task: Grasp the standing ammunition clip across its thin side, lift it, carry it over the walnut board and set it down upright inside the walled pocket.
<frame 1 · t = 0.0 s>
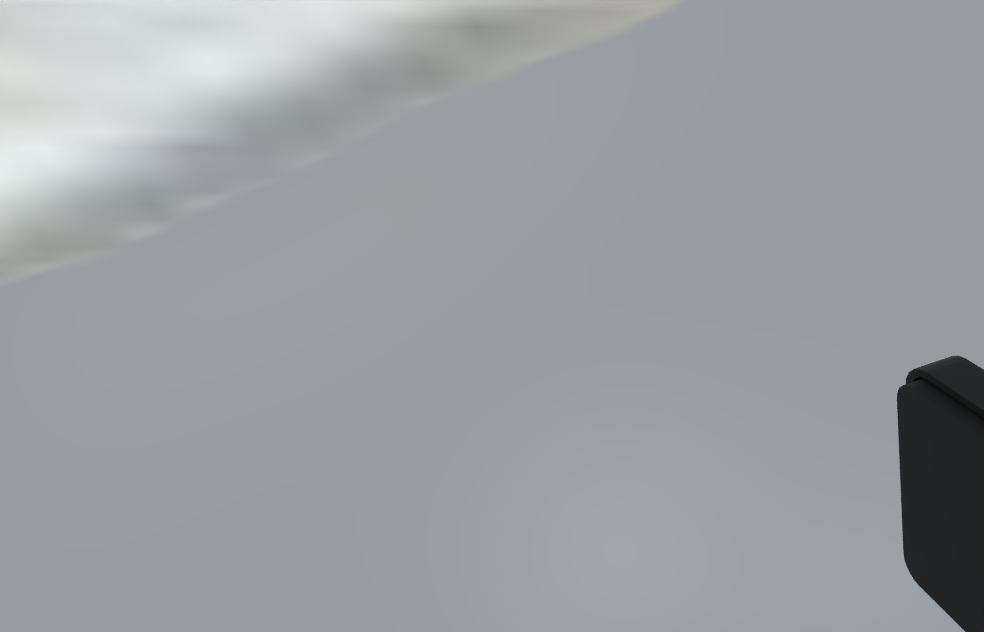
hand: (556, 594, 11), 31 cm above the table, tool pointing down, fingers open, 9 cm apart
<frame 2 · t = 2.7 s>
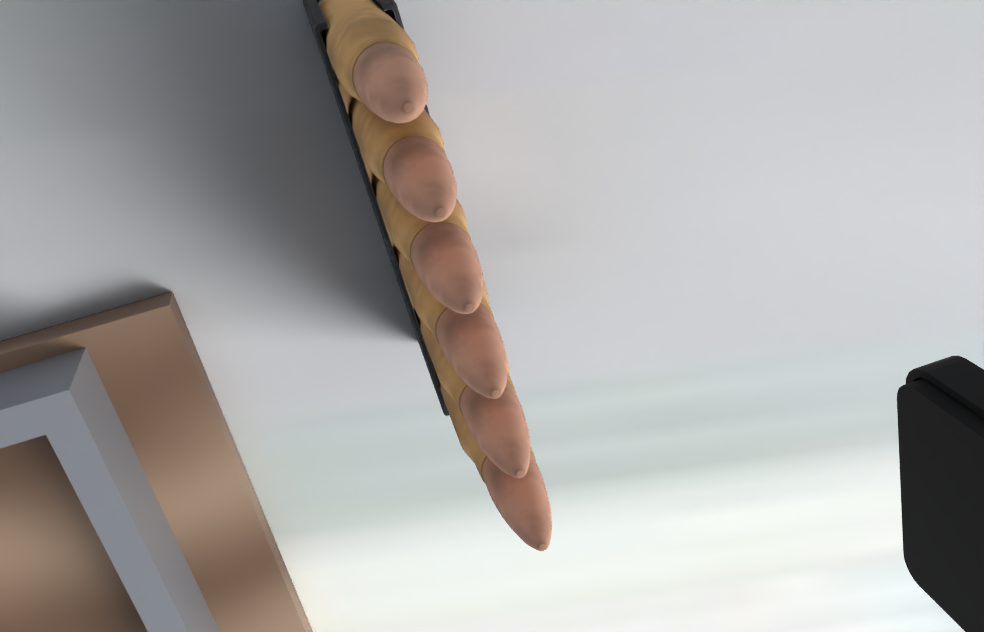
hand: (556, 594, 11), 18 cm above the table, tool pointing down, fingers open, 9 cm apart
pocket board: (51, 593, 30), on the table
ammunition clip: (394, 172, 27), on the table
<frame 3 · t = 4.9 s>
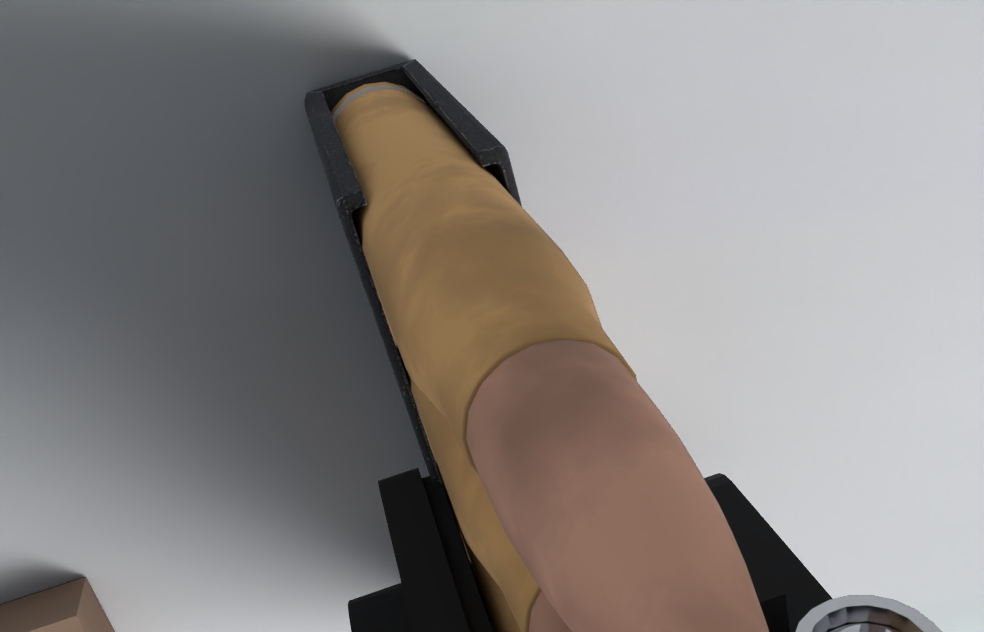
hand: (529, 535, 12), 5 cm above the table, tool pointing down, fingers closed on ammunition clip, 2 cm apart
ammunition clip: (453, 371, 17), on the table, touching gripper
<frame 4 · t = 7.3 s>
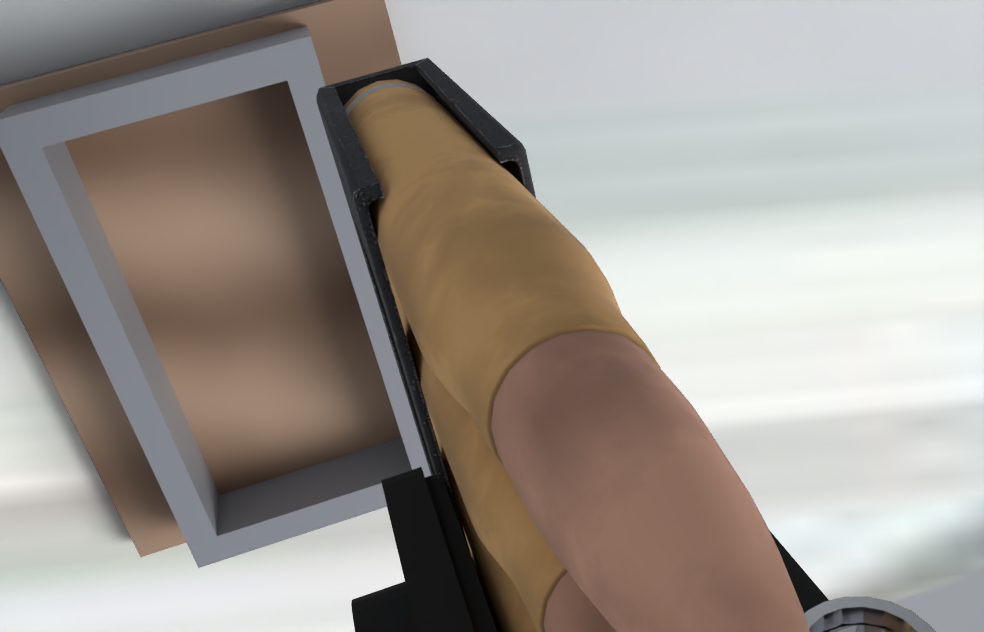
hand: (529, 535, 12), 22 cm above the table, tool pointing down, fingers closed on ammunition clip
pocket board: (249, 288, 33), on the table
ammunition clip: (455, 371, 16), point 17 cm above the table, touching gripper
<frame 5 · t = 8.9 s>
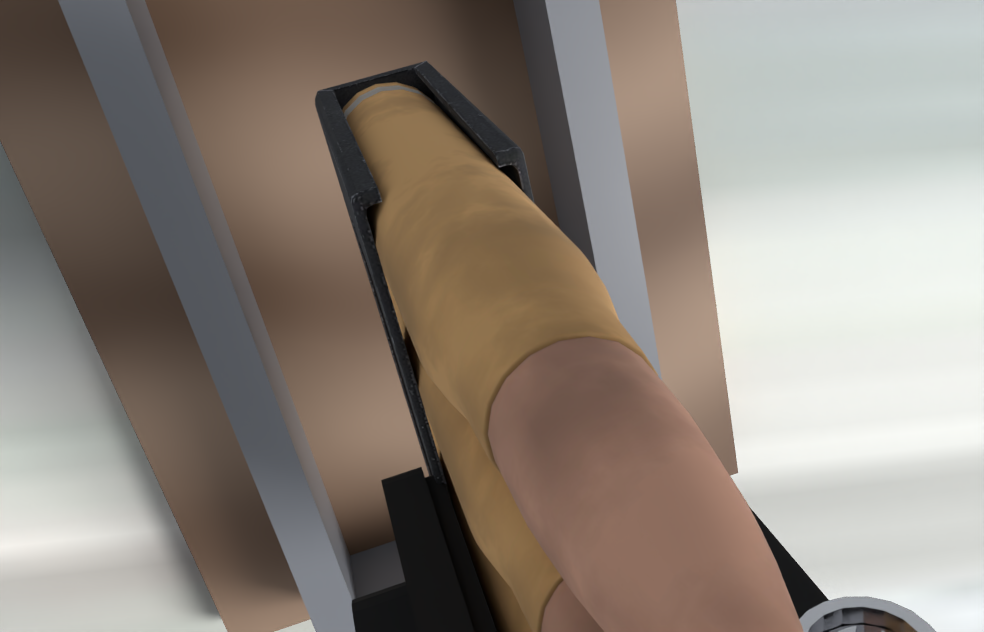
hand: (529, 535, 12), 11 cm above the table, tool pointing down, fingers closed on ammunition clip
pocket board: (405, 252, 22), on the table
ammunition clip: (453, 374, 16), point 6 cm above the table, touching gripper
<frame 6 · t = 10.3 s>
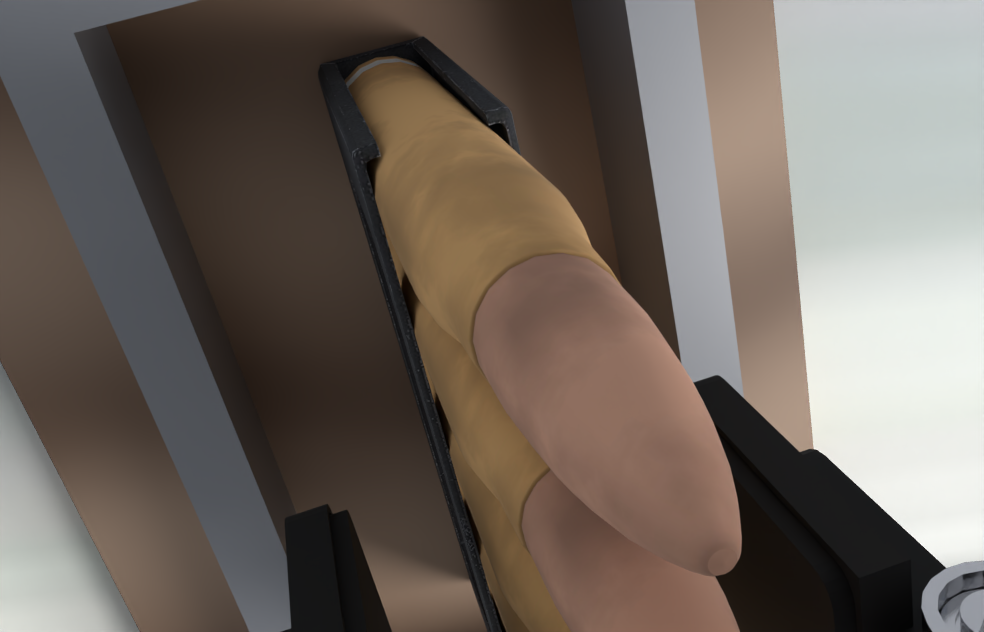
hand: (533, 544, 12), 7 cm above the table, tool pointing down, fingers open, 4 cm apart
pocket board: (435, 333, 18), on the table
ammunition clip: (449, 338, 17), point 1 cm above the table, touching pocket board
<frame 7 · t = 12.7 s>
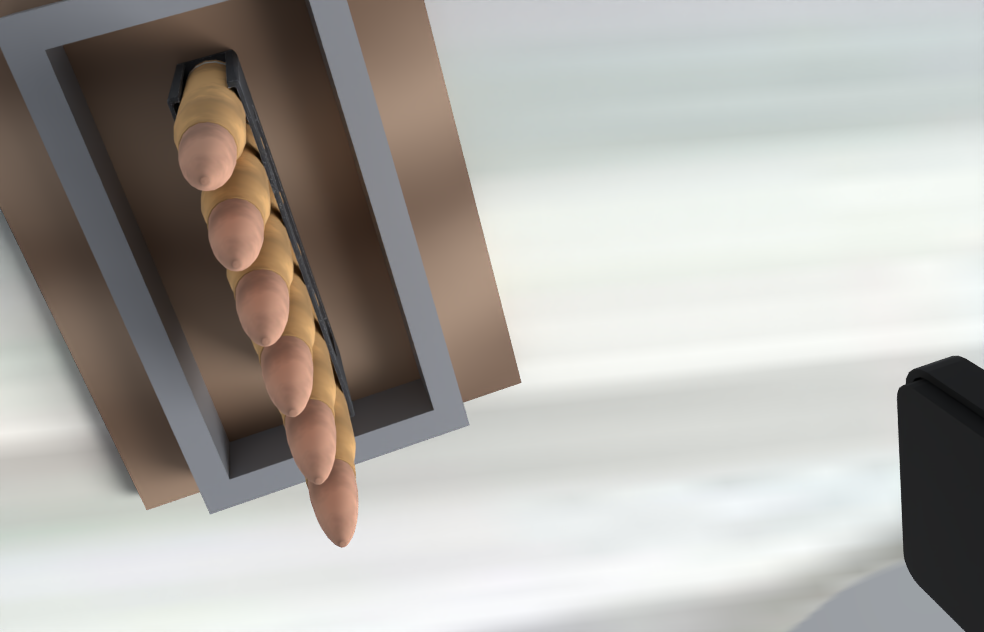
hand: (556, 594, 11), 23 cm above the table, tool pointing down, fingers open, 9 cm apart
pocket board: (259, 219, 31), on the table
ammunition clip: (263, 219, 31), point 1 cm above the table, touching pocket board
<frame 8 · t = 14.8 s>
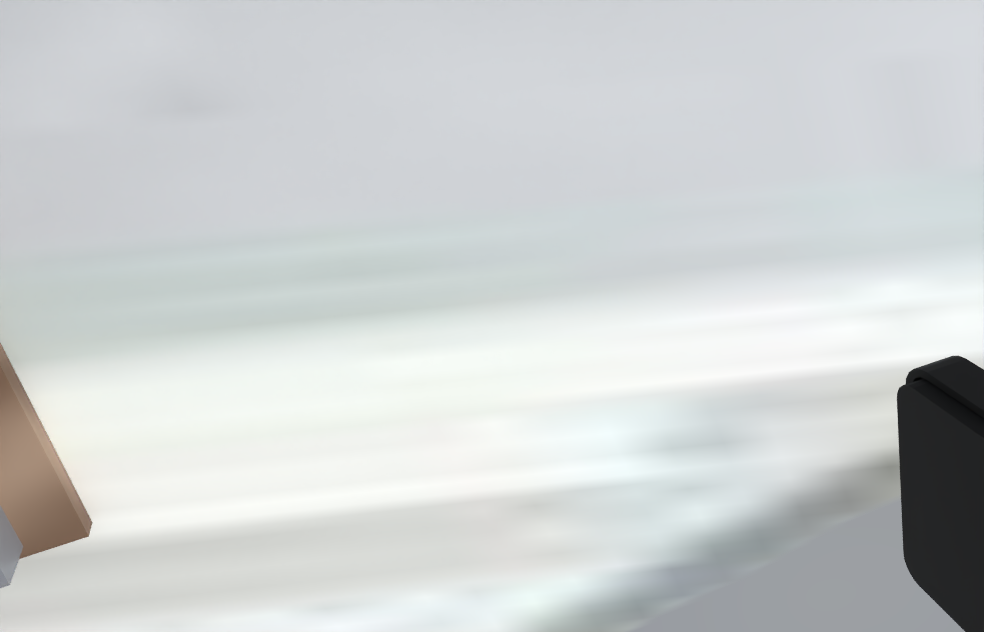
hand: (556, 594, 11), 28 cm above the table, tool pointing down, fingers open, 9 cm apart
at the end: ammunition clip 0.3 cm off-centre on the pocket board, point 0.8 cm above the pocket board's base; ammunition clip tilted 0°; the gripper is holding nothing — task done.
